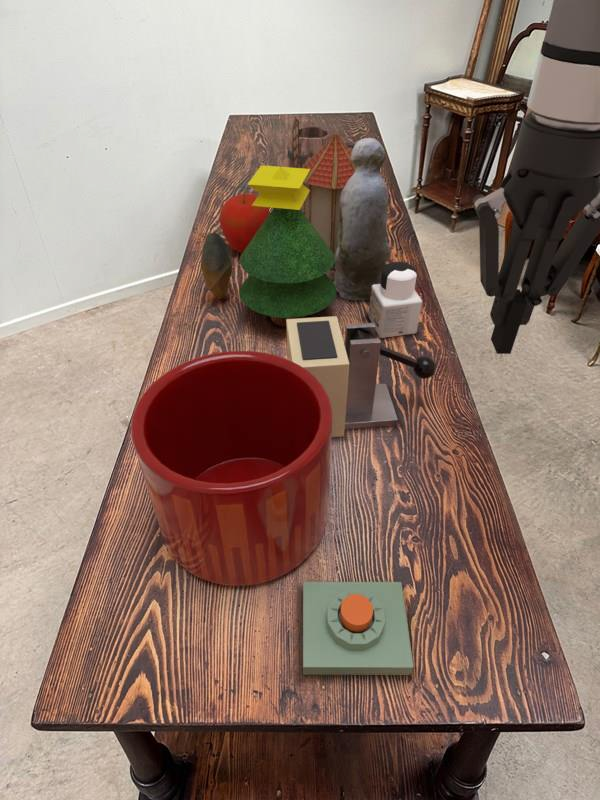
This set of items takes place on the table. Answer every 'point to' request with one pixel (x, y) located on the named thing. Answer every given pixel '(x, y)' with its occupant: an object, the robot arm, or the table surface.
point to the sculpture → (362, 224)
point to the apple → (241, 220)
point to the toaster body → (322, 360)
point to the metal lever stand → (366, 382)
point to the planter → (236, 464)
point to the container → (395, 301)
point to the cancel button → (356, 613)
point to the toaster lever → (404, 358)
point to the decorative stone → (216, 265)
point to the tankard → (309, 145)
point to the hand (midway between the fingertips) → (500, 346)
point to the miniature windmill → (325, 184)
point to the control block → (355, 651)
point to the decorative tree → (285, 251)
